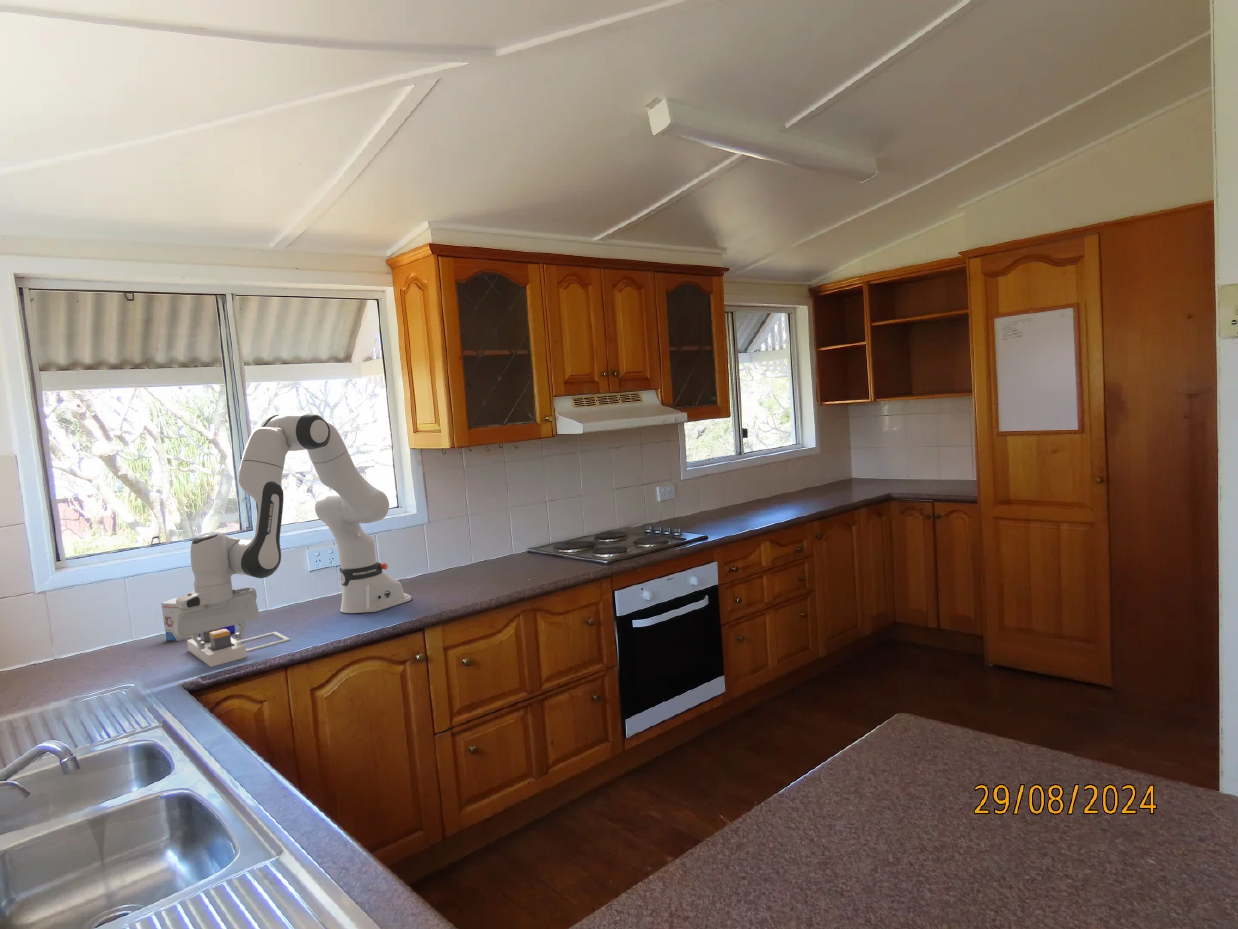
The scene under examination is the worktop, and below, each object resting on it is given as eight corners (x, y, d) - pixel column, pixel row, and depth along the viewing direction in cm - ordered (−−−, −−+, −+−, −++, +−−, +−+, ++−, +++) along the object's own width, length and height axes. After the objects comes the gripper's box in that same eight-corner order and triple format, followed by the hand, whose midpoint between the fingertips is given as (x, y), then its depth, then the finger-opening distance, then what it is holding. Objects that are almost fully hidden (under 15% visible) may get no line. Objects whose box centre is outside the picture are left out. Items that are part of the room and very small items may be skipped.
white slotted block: (223, 645, 221) (221, 631, 221) (247, 660, 205) (245, 646, 205) (188, 654, 215) (187, 640, 215) (210, 670, 199) (209, 655, 199)
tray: (276, 636, 226) (275, 631, 226) (290, 643, 217) (290, 638, 217) (232, 647, 218) (231, 642, 218) (245, 655, 209) (245, 650, 209)
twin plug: (217, 646, 217) (214, 622, 216) (221, 649, 214) (218, 625, 213) (202, 650, 214) (198, 626, 213) (206, 653, 211) (202, 628, 210)
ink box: (165, 640, 231) (159, 602, 230) (179, 635, 236) (174, 597, 235) (186, 641, 228) (180, 602, 227) (200, 636, 233) (195, 598, 232)
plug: (228, 653, 209) (225, 628, 209) (232, 656, 206) (229, 631, 206) (212, 657, 207) (209, 632, 206) (216, 660, 204) (213, 635, 203)
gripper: (251, 583, 214) (257, 631, 215) (168, 601, 200) (176, 652, 202) (259, 586, 209) (265, 635, 211) (174, 604, 196) (182, 657, 197)
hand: (220, 644), depth 206 cm, fingers open, 8 cm apart
